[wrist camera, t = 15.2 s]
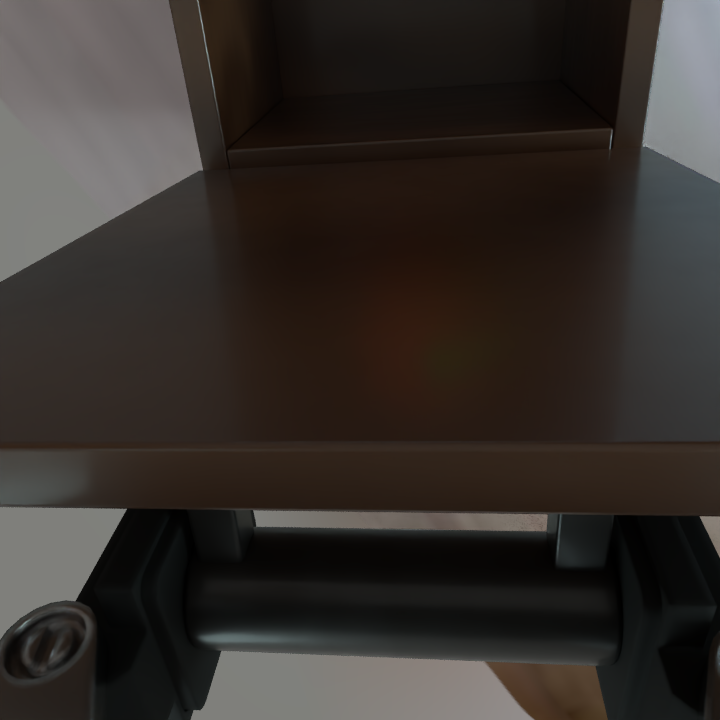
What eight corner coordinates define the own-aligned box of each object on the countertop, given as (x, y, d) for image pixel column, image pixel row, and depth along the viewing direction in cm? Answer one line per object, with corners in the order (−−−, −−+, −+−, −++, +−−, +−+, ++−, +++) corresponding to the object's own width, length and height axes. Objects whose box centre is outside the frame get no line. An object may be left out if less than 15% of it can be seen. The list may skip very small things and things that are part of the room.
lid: (-297, 445, 7) (-108, 747, 9) (1258, 445, 5) (1007, 819, 7) (197, 170, 20) (223, 314, 23) (647, 146, 19) (627, 304, 21)
